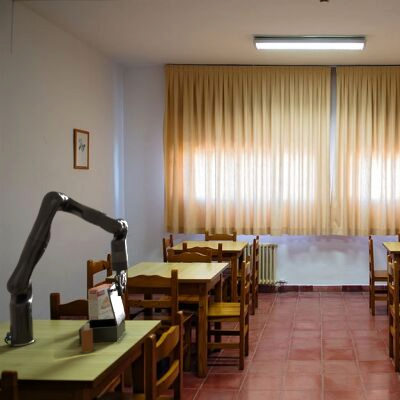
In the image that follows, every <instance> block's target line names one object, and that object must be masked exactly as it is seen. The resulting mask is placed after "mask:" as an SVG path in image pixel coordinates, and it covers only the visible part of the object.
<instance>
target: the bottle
mask: <svg viewBox="0 0 400 400" xmlns="http://www.w3.org/2000/svg"><path fill="white" fill-rule="evenodd" d="M83 325H84V329H82V330H81V339H82V344H81V351H82V352H85V353H88V352H91V351H93V350H94V343H93V330H92V328H90V324H89V323H87V324H85V323H84V324H83Z"/></svg>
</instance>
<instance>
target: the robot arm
mask: <svg viewBox="0 0 400 400" xmlns="http://www.w3.org/2000/svg"><path fill="white" fill-rule="evenodd" d="M58 212H63V213H68V214H71V215H73V216H76V217H77V218H79V219H81V220H83V221H84V222H86V223H89V224H92V225H93V226H96V227H99V228H100V229H101V230H103V231H105V232H107V233H109V234H111V235H112V239H111V240H110V264H111V265H110V266H111V271H112V272H115V274H114V276H113V278H114V283H115V288H116V289H117V296H118V297H119V296H120V297H122V296H123V294H126V293H127V290H126V288H127V287H126V285H127V282H128V280H127V279H128V278H127V270H128V269H129V258H128V257H129V256H128V250H127V249H128V248H127V237H128V229H129V228H128V223H127V221H126V220H125V219H124V218H121V217H120V218H112V217H110V216H109V214H107V213H106V212H103V211H100V210H98V209H96V208H93V207H90V206H88V205H85V204H82V203H81V202H78V201H76V200H75V199H73V198H71V197H70V196H68V195H67V194H65V193H63V192H60V191H56V190H51V191H48V192H47V193H46V194H45V195H43V197H42V200H41V203H40V206H39V209H38V213H37V215H36V218H35V220H34V222H33V224H32V227H31V229H30V232H29V234H28V235H27V237H26V240H25V242H24V245H23V247H22V250H21V253H20V255H19V259H18V261H17V263H16V266H15V267H14V270H13V271H12V273H11V274H10V276H9V278H8V280H7V282H6V286H5V287H6V290H7V292H8V293H9V294H10V297H9V303H8V311H9V331H7V332H6V335H5V337H4V339H3V340H4V343H5V344H6V345H9V343H10V347H11V348H12V347H24V346H27V345H30V344H33V343H34V342H35V337H34V321H33V320H34V319H33V280H32V275H33V272H34V270H35V268H36V266H37V265H38V263H39V262H40V261H41V259H42V258H43V256H44V254H45V252H46V250H47V248H48V245H50V244H49V243H50V240H51V237H52V224H53V220H54V218H55V216H56V214H57V213H58ZM122 285H124V289H122Z"/></svg>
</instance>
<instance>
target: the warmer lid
mask: <svg viewBox="0 0 400 400" xmlns="http://www.w3.org/2000/svg"><path fill="white" fill-rule="evenodd" d="M122 289H124V285H122ZM107 292H108V296H109V300H110V304H111V308H112V312H113V316H114V320H115V324H116V326H118V325H119V324H120V322H121V321H122V320H123V319H124V318H125V319H126V314H125V313H126V312H125V309H124V305H123V300H122V296H119V297H118V296H117V289H116V288H115V282H114V283H113V285H112V286H111V287H109V288H108V289H107Z"/></svg>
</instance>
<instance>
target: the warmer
mask: <svg viewBox="0 0 400 400" xmlns="http://www.w3.org/2000/svg"><path fill="white" fill-rule="evenodd" d="M87 323H89V324H90V328H92V330H93V344H102V343H118V342H119V341H120V339H121V338H122V337H123V336H124V334H125V332H126V317H125V318H124V319H123V320H122V321H121V322H120V324H119V325H118V326H116V324H115V320H114V318H110V319H95V320H89V319H88V321H86V322H85V323H84V324H87ZM84 324H83V325H81V327H79V329H78V340H79V342H78V343H79V345H82V339H81V330H82V329H84Z"/></svg>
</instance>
